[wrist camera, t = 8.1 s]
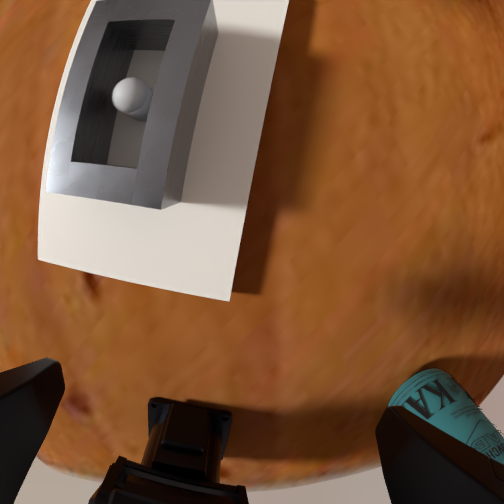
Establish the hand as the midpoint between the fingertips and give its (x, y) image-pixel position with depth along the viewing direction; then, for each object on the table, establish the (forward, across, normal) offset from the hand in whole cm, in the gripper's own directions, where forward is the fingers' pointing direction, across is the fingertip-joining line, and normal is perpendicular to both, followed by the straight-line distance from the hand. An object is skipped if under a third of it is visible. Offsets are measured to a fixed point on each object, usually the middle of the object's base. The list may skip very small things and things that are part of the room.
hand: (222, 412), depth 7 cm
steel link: (+10, +6, -9) cm, 15 cm away
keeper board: (+12, +6, -9) cm, 16 cm away
